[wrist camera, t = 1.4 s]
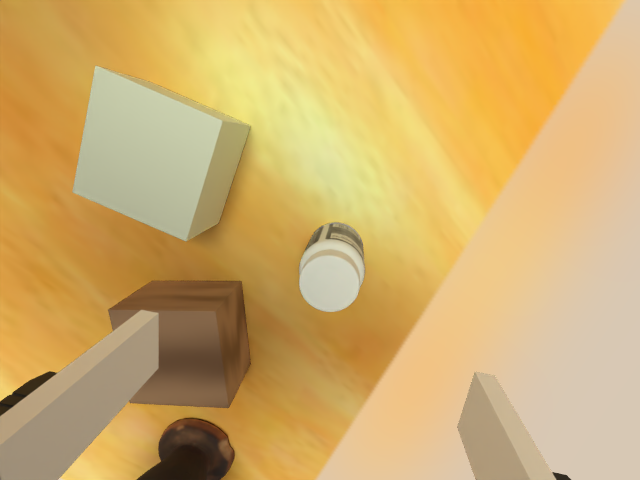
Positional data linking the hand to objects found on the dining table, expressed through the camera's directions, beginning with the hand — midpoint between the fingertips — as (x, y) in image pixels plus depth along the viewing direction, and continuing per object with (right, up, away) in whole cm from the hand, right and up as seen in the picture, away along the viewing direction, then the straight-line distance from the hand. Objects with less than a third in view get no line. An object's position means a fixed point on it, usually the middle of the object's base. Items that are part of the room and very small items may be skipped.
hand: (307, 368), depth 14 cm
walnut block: (-11, -3, +20) cm, 23 cm away
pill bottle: (+2, +5, +16) cm, 17 cm away
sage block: (-11, +13, +15) cm, 23 cm away
